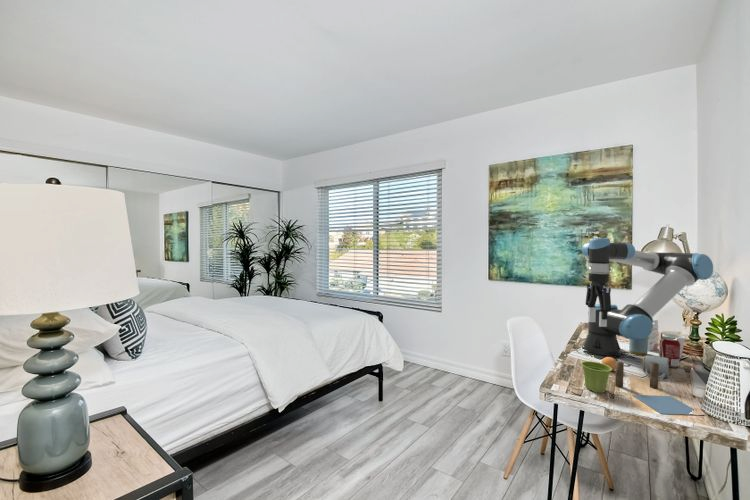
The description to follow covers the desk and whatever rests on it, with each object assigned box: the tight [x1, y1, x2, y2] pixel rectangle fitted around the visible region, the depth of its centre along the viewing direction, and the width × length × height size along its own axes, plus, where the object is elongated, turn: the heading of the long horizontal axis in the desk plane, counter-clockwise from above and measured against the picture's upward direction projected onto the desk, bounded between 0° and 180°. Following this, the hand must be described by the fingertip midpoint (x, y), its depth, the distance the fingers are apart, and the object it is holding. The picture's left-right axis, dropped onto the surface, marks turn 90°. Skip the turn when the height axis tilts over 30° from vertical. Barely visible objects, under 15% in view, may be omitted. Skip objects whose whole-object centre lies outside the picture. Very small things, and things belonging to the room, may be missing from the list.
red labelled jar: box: [658, 336, 681, 368], centre depth 150 cm, size 7×7×12 cm
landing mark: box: [632, 394, 695, 416], centre depth 114 cm, size 13×13×1 cm
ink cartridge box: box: [648, 319, 659, 352], centre depth 173 cm, size 9×5×15 cm, turn 115°
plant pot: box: [580, 360, 613, 393], centre depth 125 cm, size 9×9×9 cm
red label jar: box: [661, 333, 687, 359], centre depth 161 cm, size 8×8×10 cm
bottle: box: [628, 337, 649, 356], centre depth 166 cm, size 7×7×15 cm
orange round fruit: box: [601, 356, 617, 372], centre depth 143 cm, size 6×6×6 cm
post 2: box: [649, 362, 659, 390], centre depth 127 cm, size 2×2×9 cm
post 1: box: [614, 360, 625, 388], centre depth 128 cm, size 2×2×9 cm
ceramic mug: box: [642, 355, 670, 381], centre depth 138 cm, size 11×8×8 cm
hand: (597, 324), depth 152 cm, fingers open, 8 cm apart
